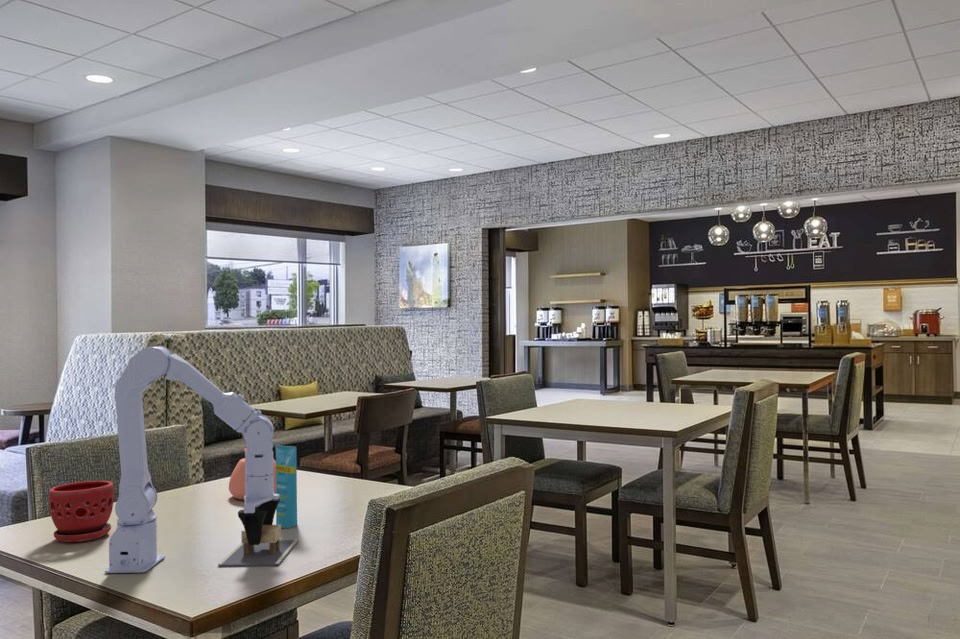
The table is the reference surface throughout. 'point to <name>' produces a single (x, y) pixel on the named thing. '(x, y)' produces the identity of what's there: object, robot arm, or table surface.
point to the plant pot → (81, 510)
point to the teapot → (243, 479)
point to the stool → (264, 538)
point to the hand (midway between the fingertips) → (259, 539)
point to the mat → (258, 555)
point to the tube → (286, 486)
